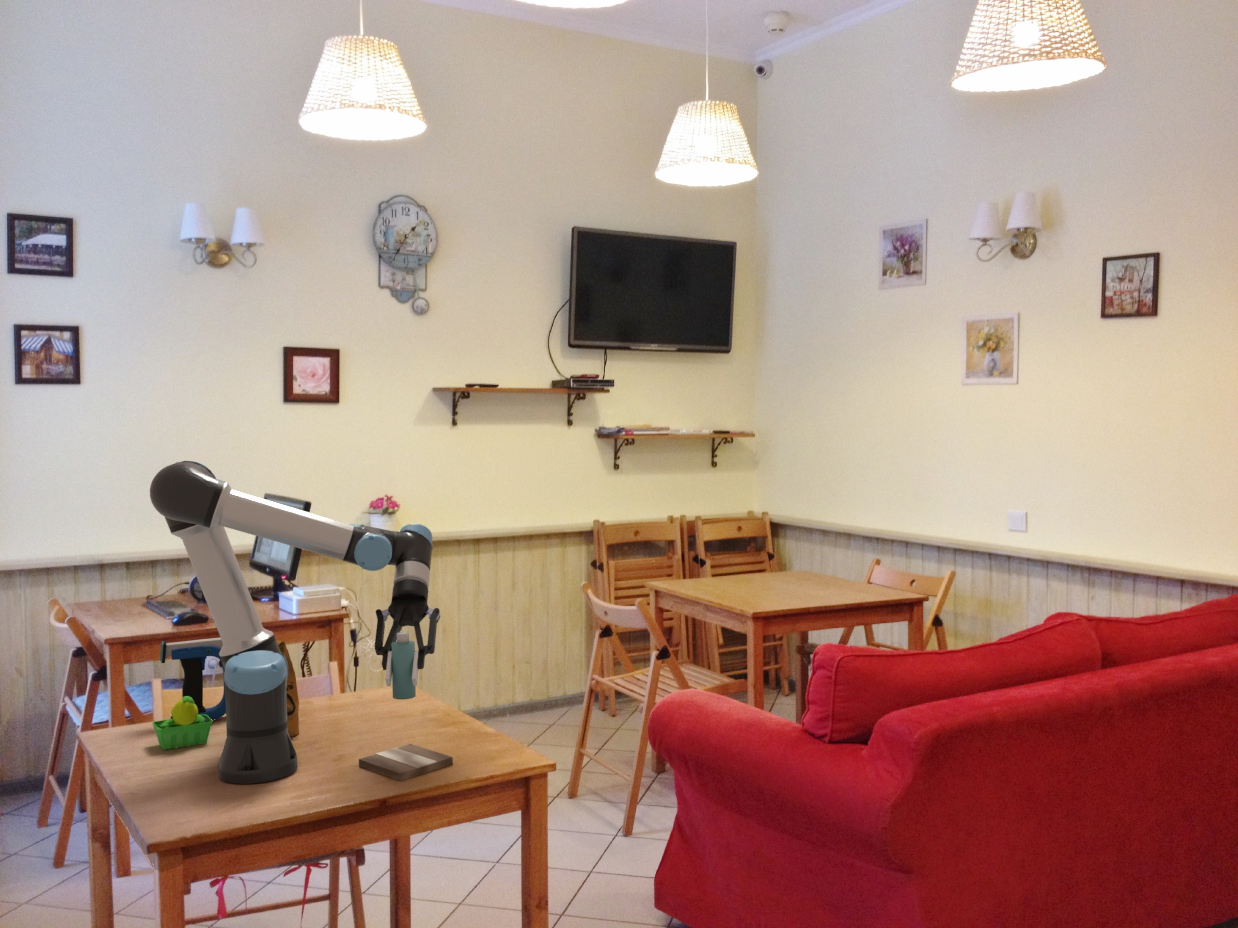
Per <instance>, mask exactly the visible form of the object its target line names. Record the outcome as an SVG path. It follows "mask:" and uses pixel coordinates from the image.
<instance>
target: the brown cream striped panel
mask: <svg viewBox="0 0 1238 928" xmlns="http://www.w3.org/2000/svg"><path fill="white" fill-rule="evenodd" d="M453 760H454V758H453V756H450V755H448V754H445V753H441V752H437V751H435V750H432V749H427V748H425V747H422V746H418V745H416V744H413V743H410V744H409V743H408V744H405V745H403V746H398V747H393V748H389V749H387V750H383V751H379V752H376V753H375V754H372V755H368V756H365V757H362V758H361V757H360V758H359V759H358V767H360V768H362V769H365V770H368V771H371V772H374V773H377V774H380V775H382V776H385V777H388V778H391V779H394V780H396V781H399V782H402V781H405V780H406V781H407V780H408V779H412V778H414V777H418V776H420V775H424V774H427V773H429V772H430V773H431V772H433V770H434V771H436V769H437V770H439V769H440V770H441V769H443V768H445V766H446V767H449V766H451V764H452V765H454V761H453ZM442 767H443V768H442Z"/></svg>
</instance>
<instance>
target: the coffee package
mask: <svg viewBox="0 0 1238 928" xmlns="http://www.w3.org/2000/svg"><path fill="white" fill-rule="evenodd" d="M276 641H277V644H278V646H279V649H280V651H281V652H282V653H283V655H284V656H285V658H286V660H287V663H288V668H289V669H288V671H289V675H288V680H287V688H286V694H287V729H288V733H289V736H290V738H292V737H294V736H297V735H299V734H300V726H299V725H300V723H299V722H300V719H299V711H300V709H299V706H300V700H299V694H298V693H299V692H298V686H297V676H296V671H295V669H294V666H293V665H294V664H293V661H292V659H291V655H290V652H289V650H288V648H287V645H286V642H285V641H284V640H276Z"/></svg>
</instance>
